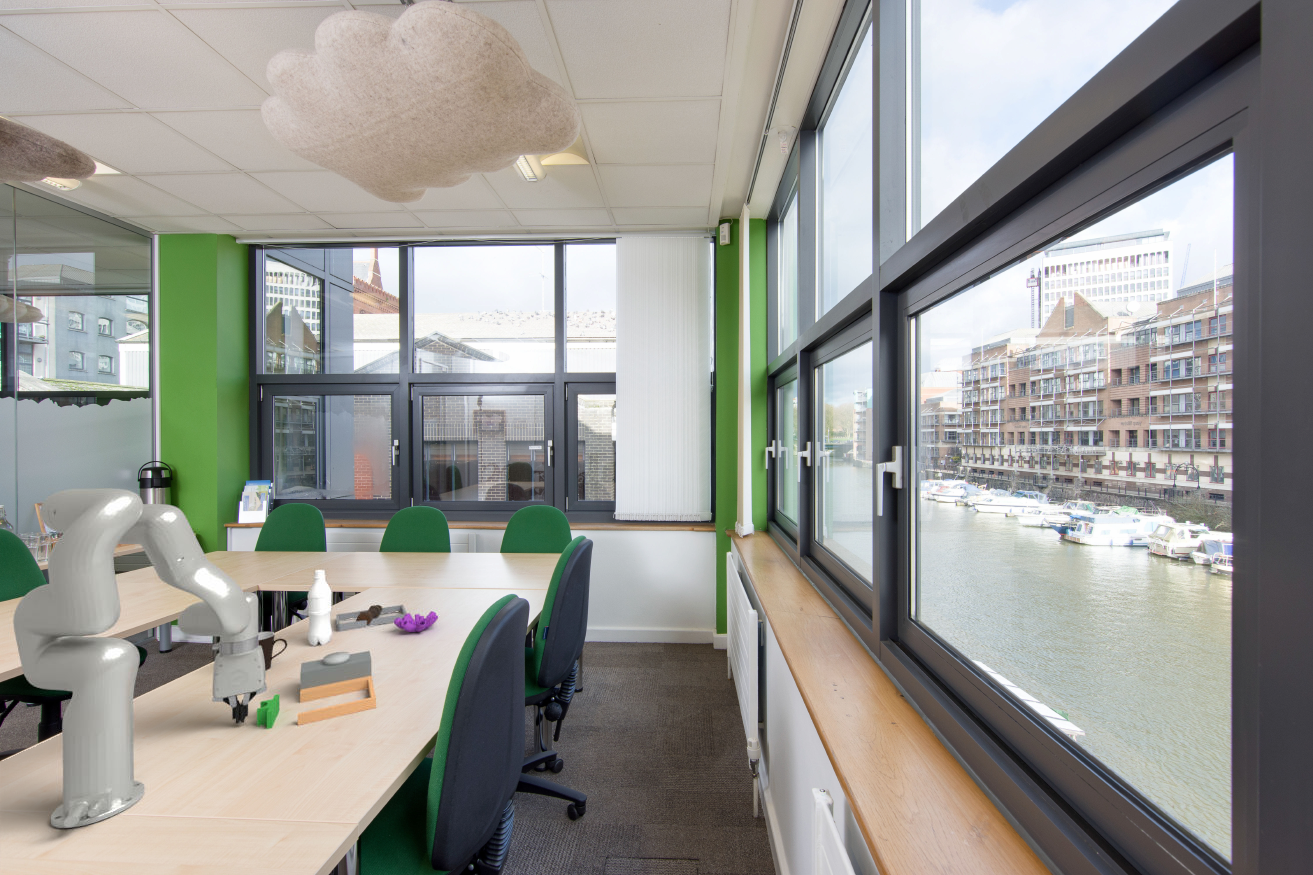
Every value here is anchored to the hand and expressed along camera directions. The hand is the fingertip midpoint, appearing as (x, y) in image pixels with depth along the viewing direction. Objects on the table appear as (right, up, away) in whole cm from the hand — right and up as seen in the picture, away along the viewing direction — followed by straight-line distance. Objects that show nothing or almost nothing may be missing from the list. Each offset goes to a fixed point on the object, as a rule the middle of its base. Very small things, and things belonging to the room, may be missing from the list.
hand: (240, 720), depth 137 cm
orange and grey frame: (+15, -1, +14) cm, 21 cm away
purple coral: (+14, -2, +67) cm, 69 cm away
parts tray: (-9, -2, +80) cm, 81 cm away
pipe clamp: (+5, -2, +3) cm, 6 cm away
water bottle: (-14, -2, +56) cm, 58 cm away
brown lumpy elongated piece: (-9, -2, +81) cm, 81 cm away
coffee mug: (-19, -2, +34) cm, 39 cm away
